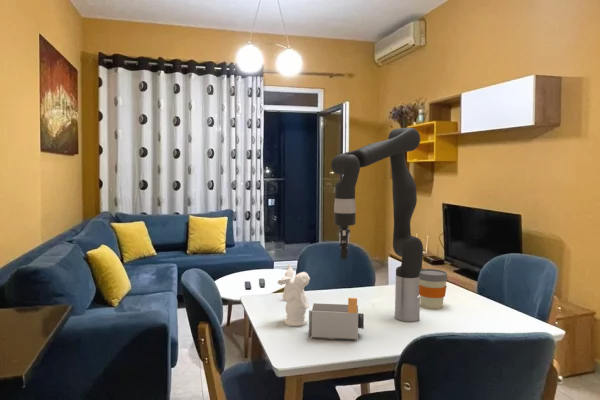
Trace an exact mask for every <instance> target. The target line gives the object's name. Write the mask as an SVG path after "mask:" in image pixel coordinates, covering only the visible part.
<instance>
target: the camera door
mask: <svg viewBox="0 0 600 400" xmlns="http://www.w3.org/2000/svg"><path fill="white" fill-rule="evenodd" d="M347 305H348V312H335V311H312V310H308V311H309V312H308V337H309V338H310V337H311V338H312V337H326V338H347V339H358V340H359V328H358V313H359V311H358V312H357V305H358V298H357V297H348V299H347Z"/></svg>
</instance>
